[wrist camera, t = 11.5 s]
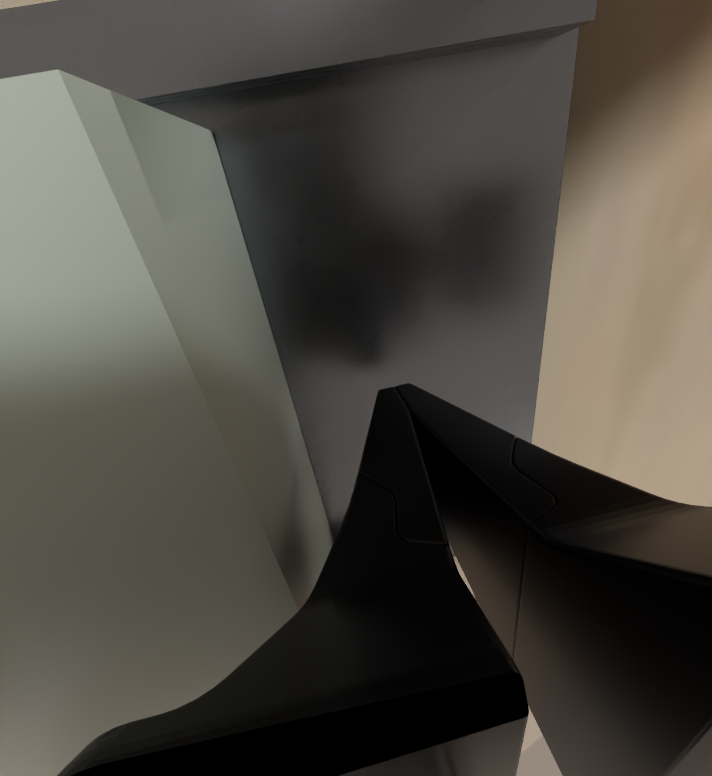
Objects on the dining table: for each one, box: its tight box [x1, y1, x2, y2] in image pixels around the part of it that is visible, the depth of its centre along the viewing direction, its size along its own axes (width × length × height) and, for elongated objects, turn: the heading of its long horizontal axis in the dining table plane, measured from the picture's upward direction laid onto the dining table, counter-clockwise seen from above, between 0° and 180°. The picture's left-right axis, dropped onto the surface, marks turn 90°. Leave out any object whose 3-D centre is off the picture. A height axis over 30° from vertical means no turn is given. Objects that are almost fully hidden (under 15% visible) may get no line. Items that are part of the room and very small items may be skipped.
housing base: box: [0, 0, 598, 556], centre depth 9 cm, size 18×16×5 cm
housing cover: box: [0, 69, 333, 776], centre depth 8 cm, size 8×12×6 cm, turn 9°
